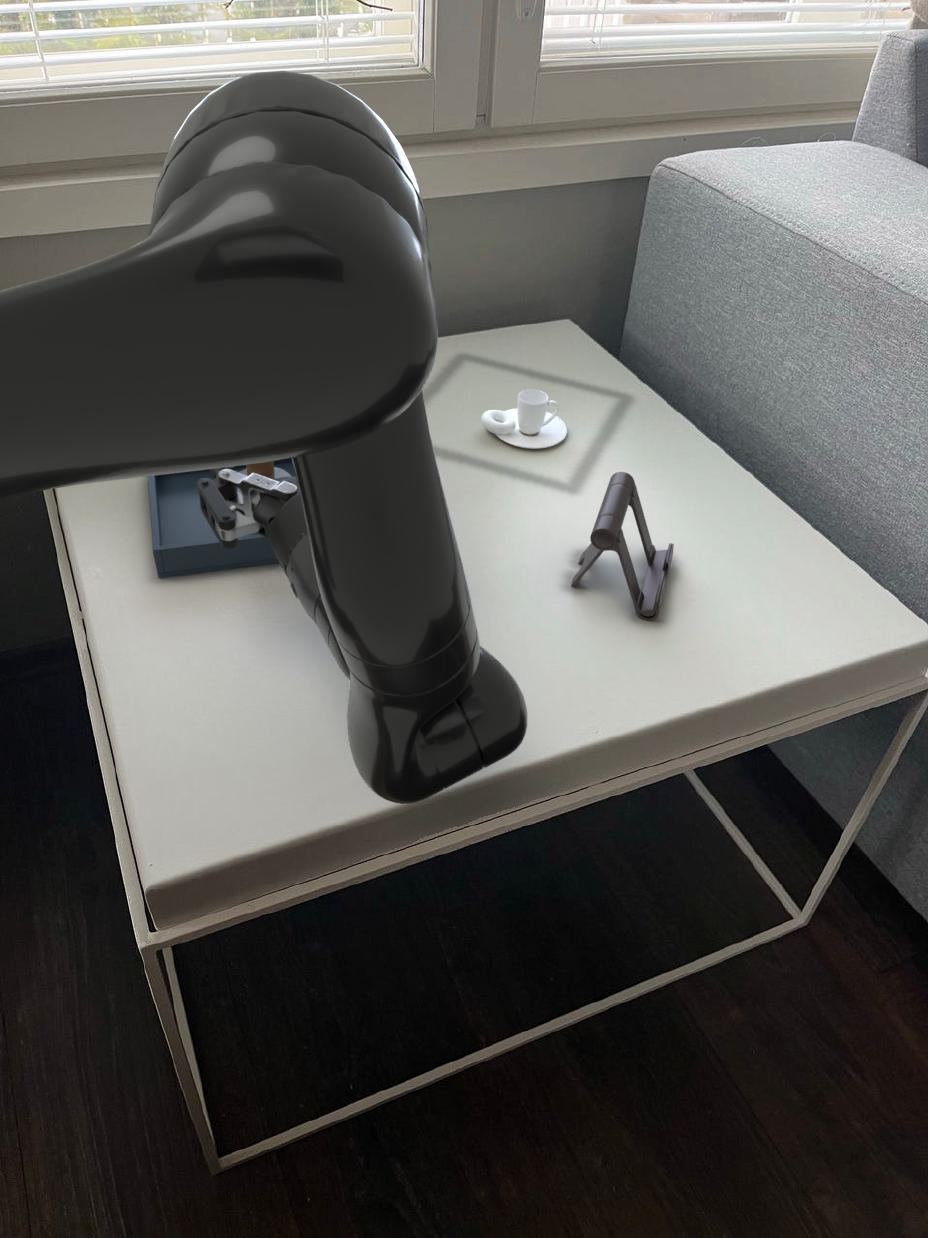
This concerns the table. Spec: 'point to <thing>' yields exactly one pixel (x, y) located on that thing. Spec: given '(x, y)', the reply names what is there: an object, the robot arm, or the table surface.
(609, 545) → the tablet stand
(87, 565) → the table surface
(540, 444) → the teacup and saucer
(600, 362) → the table surface
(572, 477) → the table surface
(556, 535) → the table surface
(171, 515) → the tray
